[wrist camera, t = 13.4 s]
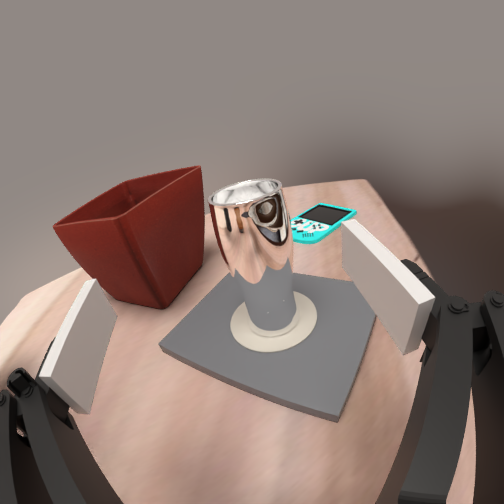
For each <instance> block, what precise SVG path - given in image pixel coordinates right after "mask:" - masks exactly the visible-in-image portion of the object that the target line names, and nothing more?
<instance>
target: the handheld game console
mask: <svg viewBox="0 0 504 504" xmlns="http://www.w3.org/2000/svg"><path fill="white" fill-rule="evenodd" d="M356 214H357V213H356V210H352V209H348V208H344V207H339V206H334V205H329V204H324V203H319V204H317V205H315V206H314V207H312V208H310V209H309V210H307V211H305V212H303V213H302V214H300V215H298V216H297V217H295V218H293V219H292V220H290V221H291V226H292V234H293V241H294V242H297V243H303V244H314V243H317V242H319V241H321V240H322V239H323V238H325V237H326V236H327V235H329V234H330V233H331V232H333V231H334V230H336V229H337V228H338V227H340V226H341V222H343V221H347V220H349V219H350V218H352V217H353V216H354V215H356Z"/></svg>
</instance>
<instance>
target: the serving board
mask: <svg viewBox="0 0 504 504" xmlns="http://www.w3.org/2000/svg"><path fill="white" fill-rule="evenodd" d="M292 285H293V292H294V296H295V299H296V301H297V304H298V306H299V309H300V319H299V321H298V323H297V325H296V326H295V327H294V328H293V329H292V330H290V331H289V332H287V333H285V334H282V335H279V336H274V337H265V336H260V335H258V334H255V333H254V332H253V331H252V330H251V329H250V328H249V326H248V324H247V317H246V305H245V301H244V299H243V296H242V294H241V292H240V290H239V288H238V286H237V284H236V283H235V281H234V279H233V277H232V275H231V273H230V272H229V273H228V274H227V275H226V276H225V277H224V278H223V279H222V280H221V281H220V282H219V283H218V284H217V285H216V286H215V287H214V288H213V289H212V290H211V291H210V292H209V293H208V294H207V295H206V296H205V297H204V298H203V299H202V300H201V301H200V302H199V303H198V304H197V305H196V306H195V307H194V308H193V309H192V310H191V311H190V312H189V313H188V314H187V315H186V316H185V317H184V318H183V319H182V320H181V322H180V323H179V324H178V325H177V326H176V327H175V328H174V329H173V330H172V331H171V332H170V333H169V334H168V335H167V336H166V337H165V338H164V339H163V340H162V341H161V342H160V343H159V346H160V348H161V349H162V351H163V352H165V353H166V354H168V355H170V356H172V357H174V358H176V359H178V360H179V361H181V362H183V363H185V364H187V365H189V366H191V367H193V368H195V369H197V370H199V371H201V372H203V373H206V374H208V375H210V376H212V377H214V378H216V379H218V380H221V381H223V382H225V383H227V384H230V385H232V386H234V387H237V388H239V389H241V390H244V391H246V392H249V393H251V394H254V395H256V396H259V397H261V398H264V399H266V400H269V401H272V402H274V403H277V404H280V405H283V406H286V407H289V408H291V409H294V410H297V411H300V412H304V413H307V414H310V415H313V416H316V417H320V418H323V419H327V420H330V421H334V422H338V420H339V418H340V416H341V413H342V411H343V409H344V406H345V404H346V402H347V399H348V397H349V394H350V392H351V389H352V387H353V384H354V382H355V379H356V376H357V374H358V371H359V368H360V365H361V363H362V360H363V357H364V354H365V351H366V348H367V345H368V342H369V339H370V335H371V332H372V329H373V325H374V322H375V319H376V314H375V312H374V311H373V310H372V308H371V307H370V305H369V304H368V302H367V301H366V300H365V298H364V297H363V295H362V294H361V292H360V291H359V290H358V288H357V287H356V285H355V284H354V283H353V282H350V281H344V280H337V279H330V278H324V277H317V276H311V275H304V274H298V273H293V280H292Z"/></svg>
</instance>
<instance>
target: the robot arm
mask: <svg viewBox="0 0 504 504" xmlns="http://www.w3.org/2000/svg"><path fill="white" fill-rule="evenodd" d="M341 232H342V268H343V269H344V270H345V272H346V273H347V274H348V276H349V277H350V279H351V280H352V281H353V283H354V284H355V285H356V287H357V288H358V290H359V291H360V292H361V294H362V295H363V297H364V298H365V300H366V301H367V302H368V304H369V305H370V307H371V308H372V310H373V311H374V312H375V314H376V315H377V317H378V318H379V320H380V321H381V323H382V324H383V326H384V327H385V329H386V330H387V332H388V333H389V335H390V336H391V338H392V339H393V341H394V342H395V344H396V346H397V347H398V349H399V350H400V352H401V353H402V355H406V354H408V353H410V352H412V351H414V350H417V349H418V348H419V345H420V342H421V340H423V341H424V343H425V344H426V348H425V350H424V352H423V355H422V357H421V359H420V362H422V367H421V372H420V377H419V381H418V386H417V390H416V394H415V398H414V402H413V406H412V410H411V413H410V417H409V420H408V423H407V427H406V430H405V433H404V436H403V439H402V442H401V445H400V447H399V450H398V453H397V456H396V458H395V461H394V463H393V466H392V468H391V471H390V473H389V475H388V478H387V480H386V482H385V484H384V487H383V489H382V491H381V493H380V495H379V497H378V499H377V501H376V503H375V504H446V499H447V495H448V492H449V490H450V487H451V484H452V481H453V477H454V474H455V471H456V467H457V463H458V460H459V456H460V452H461V447H462V443H463V438H464V433H465V428H466V422H467V415H468V408H469V400H470V391H471V388H472V396H473V404H474V415H475V430H476V473H475V487H474V497H473V504H504V295H503V294H502V293H500V292H498V291H488V292H487V293H485V295H484V298H483V300H482V302H477V303H468V302H467V301H466V300H464V299H463V298H461V297H458V296H448V295H447V294H446V293H445V292H444V291H443V290H442V289H441V288H440V287H439V286H438V285H437V284H436V283H435V282H434V281H433V280H432V279H431V278H430V277H429V276H428V275H427V274H426V273H425V272H423V270H422V269H421V268H420V267H419V266H418V265H417V264H416V263H414V262H412V261H410V260H407V259H404V260H401V261H400V260H398V259H397V258H396V257H395V256H394V255H393V254H392V253H391V252H390V251H389V250H388V249H387V248H386V247H385V246H384V245H383V244H382V243H381V242H380V241H378V240H377V239H376V238H375V237H374V236H373V235H372V234H371V233H370V232H369V231H367V230H366V229H365V228H364V227H363V226H362V225H361V224H360V223H358V222H357V221H356V220H355V219H352V220H347V221H343V222H341ZM116 319H117V315H116V313H115V311H114V310H113V308H112V306H111V304H110V303H109V301H108V299H107V297H106V296H105V294H104V292H103V290H102V288H101V286H100V285H99V283H98V281H97V279H92V280H88V281H85V283H84V285H83V286H82V288H81V290H80V292H79V294H78V295H77V297H76V299H75V301H74V303H73V304H72V306H71V308H70V310H69V312H68V314H67V316H66V318H65V320H64V322H63V324H62V326H61V328H60V330H59V332H58V334H57V336H56V337H55V338H54V340H53V341H52V342H51V344H50V346H49V348H48V350H47V353H46V354H45V357H44V358H45V359H43V361H42V364H41V366H40V368H39V371H38V373H37V376H36V378H35V380H34V379H33V378H32V377H31V376H30V375H29V374H28V373H27V371H26V370H25V369H23V368H18V369H16V370H14V371H13V372H12V373H11V375H10V376H9V378H8V381H7V387H8V388H9V389H10V390H11V391H12V392H13V393H14V394H15V396H13V395H12V394H11V393H10V392H9V391H8V390H2V391H1V392H0V504H123V502H122V501H121V500H120V498H119V497H118V495H117V494H116V493H115V491H114V490H113V488H112V487H111V485H110V484H109V482H108V481H107V479H106V478H105V476H104V474H103V473H102V471H101V470H100V468H99V466H98V465H97V463H96V461H95V459H94V458H93V456H92V454H91V452H90V451H89V449H88V447H87V445H86V443H85V441H84V439H83V437H82V435H81V433H80V431H79V429H78V427H77V425H76V423H75V421H74V418H73V416H72V415H71V414H70V413H69V412H68V410H69V407H71V408H72V409H73V410H74V411H75V412H76V413H79V414H90V411H91V406H92V402H93V398H94V394H95V390H96V386H97V382H98V378H99V374H100V371H101V367H102V364H103V360H104V357H105V354H106V350H107V347H108V344H109V341H110V337H111V334H112V331H113V328H114V325H115V322H116ZM17 428H18V429H19V430H21V431H22V432H23V433H24V436H23V437H22V436H21V435H19V434H18V433H17Z"/></svg>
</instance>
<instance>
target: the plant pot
mask: <svg viewBox="0 0 504 504" xmlns="http://www.w3.org/2000/svg"><path fill="white" fill-rule="evenodd" d="M53 228H54V230H55V232H56V234H57V235H58V237H59V238H60V240H61V241H62V243H63V244H64V246H65V247H66V248H67V250H68V251H69V252H70V254H71V255H72V256H73V257H74V259H75V260H76V261H77V262H78V263H79V264H80V266H81V267H82V268H83V269H84V270H85V271H86V272H87V273H88V274H89V275H90V276H91V277H92V278H93V279H97V281H98V283H99V285H100V286H101V287H102V288H103V289H104V290H106V291H107V292H108V293H109V294H110V295H111V296H113V297H114V298H115V299H117V300H120V301H125V302H130V303H134V304H139V305H144V306H148V307H154V308H158V309H163V308H166V307H167V306H169V304H170V303H171V302H172V301H173V299H174V298H175V297H176V296H177V295H178V293H179V292H180V291H181V290H182V288H183V287H184V286H185V285H186V283H187V282H188V281H189V280H190V279H191V277H192V276H193V275H194V274H195V272H196V271H197V270H198V269H199V268H200V266H201V265H202V263H203V252H204V228H205V216H204V194H203V182H202V172H201V166H193V167H187V168H181V169H176V170H172V171H166V172H162V173H157V174H152V175H147V176H144V177H139V178H135V179H131V180H127V181H125V182H122V183H120V184H119V185H117V186H115V187H113V188H111V189H110V190H108V191H107V192H104V193H103V194H101V195H99V196H98V197H96V198H94V199H93V200H91V201H89V202H88V203H86V204H85V205H83V206H81V207H80V208H78V209H77V210H75V211H74V212H72V213H71V214H69V215H67V216H66V217H65V218H63V219H62V220H60V221H59V222H57V223H56V224H54V225H53Z"/></svg>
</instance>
